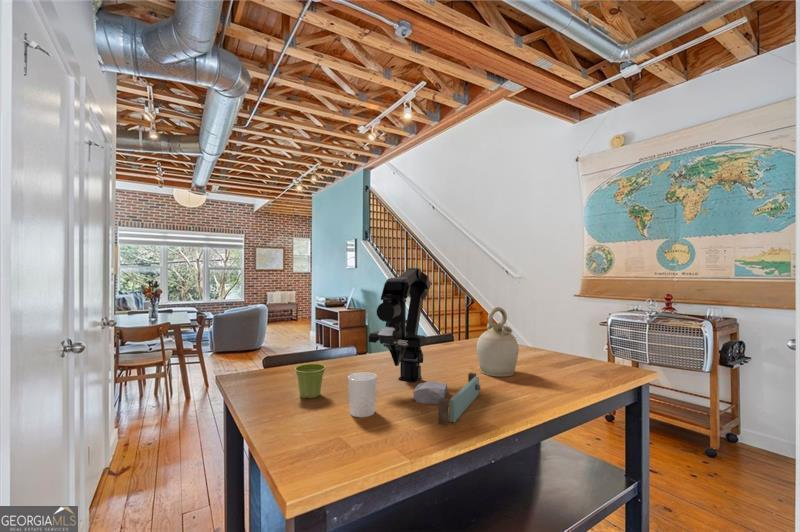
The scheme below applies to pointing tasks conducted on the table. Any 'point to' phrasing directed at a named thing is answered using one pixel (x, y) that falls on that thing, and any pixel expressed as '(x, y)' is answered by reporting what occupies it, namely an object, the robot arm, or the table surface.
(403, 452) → the table surface
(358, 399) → the white cup
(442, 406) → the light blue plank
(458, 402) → the gate
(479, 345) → the jug
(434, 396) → the stone block
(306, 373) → the plant pot
